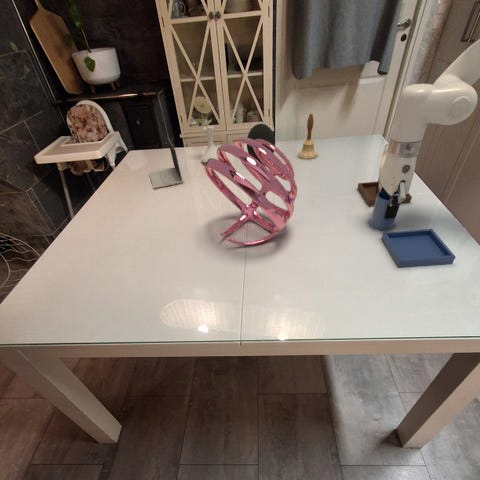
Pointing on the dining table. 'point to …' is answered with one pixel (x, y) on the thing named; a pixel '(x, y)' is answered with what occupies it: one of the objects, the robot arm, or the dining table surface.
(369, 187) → the walnut tray
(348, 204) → the dining table surface
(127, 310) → the dining table surface
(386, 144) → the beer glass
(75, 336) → the dining table surface
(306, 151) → the hand bell
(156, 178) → the laptop
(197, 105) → the flower in vase
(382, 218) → the blue cup
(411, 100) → the robot arm
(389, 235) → the blue tray
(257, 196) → the spiral basket
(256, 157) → the decorative egg
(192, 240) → the dining table surface
